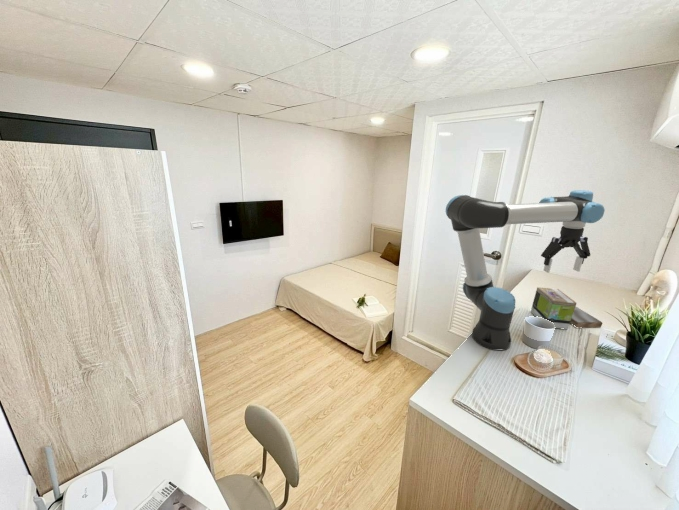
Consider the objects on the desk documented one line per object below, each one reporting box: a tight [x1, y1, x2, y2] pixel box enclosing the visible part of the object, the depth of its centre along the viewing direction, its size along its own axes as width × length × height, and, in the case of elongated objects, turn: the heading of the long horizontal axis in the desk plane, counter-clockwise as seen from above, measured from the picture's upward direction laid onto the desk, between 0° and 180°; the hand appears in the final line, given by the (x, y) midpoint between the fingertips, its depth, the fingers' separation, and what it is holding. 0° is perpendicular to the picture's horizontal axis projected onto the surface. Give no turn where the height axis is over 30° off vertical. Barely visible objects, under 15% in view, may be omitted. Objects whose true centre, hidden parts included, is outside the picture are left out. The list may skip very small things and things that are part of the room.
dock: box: [570, 306, 603, 329], centre depth 131 cm, size 12×17×3 cm
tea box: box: [530, 286, 577, 330], centre depth 128 cm, size 15×10×15 cm, turn 168°
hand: (561, 271), depth 121 cm, fingers open, 13 cm apart
